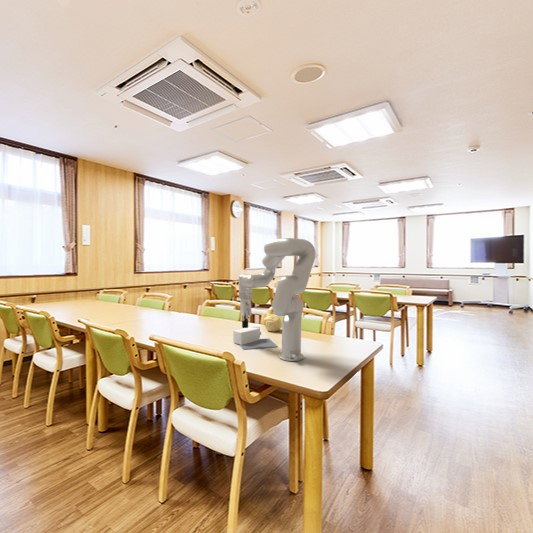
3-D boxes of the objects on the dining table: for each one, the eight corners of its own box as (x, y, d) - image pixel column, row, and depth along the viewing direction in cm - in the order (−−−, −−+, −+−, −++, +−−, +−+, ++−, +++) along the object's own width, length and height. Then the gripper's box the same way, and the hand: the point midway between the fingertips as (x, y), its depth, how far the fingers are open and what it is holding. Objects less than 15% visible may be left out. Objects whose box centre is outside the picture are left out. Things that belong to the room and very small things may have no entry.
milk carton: (233, 330, 179) (255, 325, 193) (233, 342, 180) (255, 336, 194) (241, 332, 175) (264, 327, 189) (241, 345, 175) (264, 338, 189)
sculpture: (261, 331, 210) (261, 315, 210) (269, 328, 221) (269, 313, 220) (276, 333, 205) (276, 317, 205) (284, 329, 215) (284, 314, 215)
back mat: (277, 347, 173) (277, 346, 173) (243, 349, 167) (243, 348, 167) (268, 339, 190) (268, 338, 190) (237, 341, 185) (237, 340, 185)
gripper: (254, 297, 170) (254, 330, 170) (248, 294, 184) (248, 324, 185) (241, 297, 168) (241, 330, 168) (236, 294, 182) (236, 325, 183)
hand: (245, 327), depth 177 cm, fingers closed
